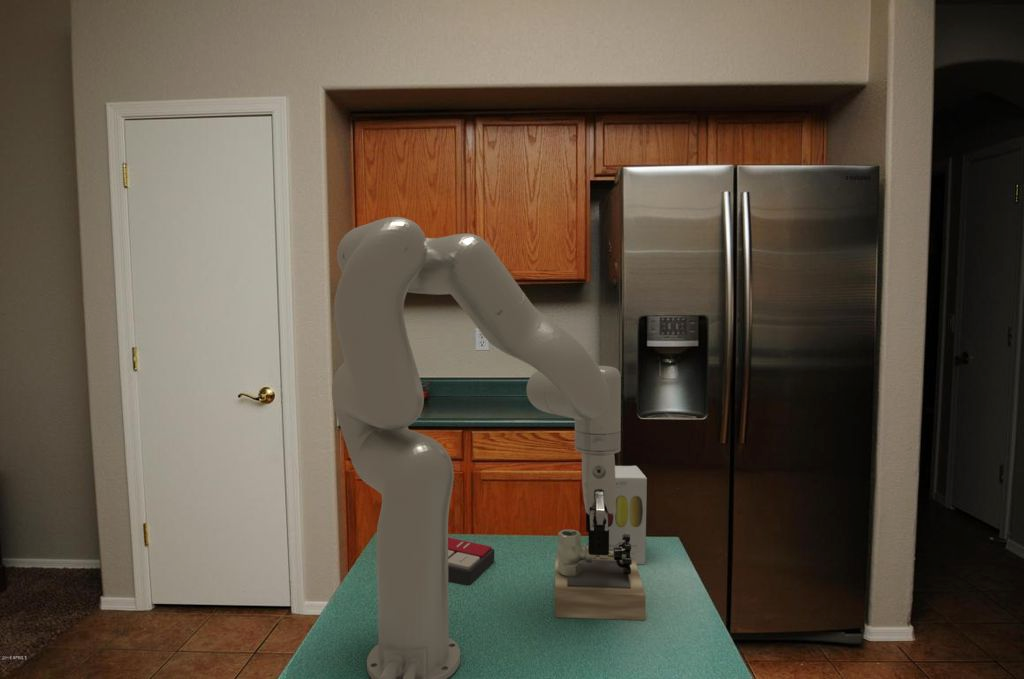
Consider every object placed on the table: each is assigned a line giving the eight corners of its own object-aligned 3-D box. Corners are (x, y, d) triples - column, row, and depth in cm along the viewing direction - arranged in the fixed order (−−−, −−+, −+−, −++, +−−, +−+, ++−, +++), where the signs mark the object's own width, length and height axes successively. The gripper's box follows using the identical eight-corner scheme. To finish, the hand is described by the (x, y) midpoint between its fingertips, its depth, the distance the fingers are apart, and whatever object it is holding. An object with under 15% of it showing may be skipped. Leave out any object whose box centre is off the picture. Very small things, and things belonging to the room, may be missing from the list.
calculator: (470, 567, 107) (396, 550, 112) (469, 591, 107) (396, 573, 113) (495, 545, 117) (427, 530, 123) (494, 566, 117) (426, 551, 123)
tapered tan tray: (645, 620, 95) (645, 593, 95) (554, 617, 96) (554, 590, 96) (634, 580, 109) (634, 556, 109) (555, 577, 110) (555, 554, 110)
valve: (556, 579, 99) (631, 582, 98) (556, 540, 99) (631, 542, 98) (557, 563, 106) (627, 565, 105) (557, 525, 106) (627, 527, 105)
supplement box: (596, 565, 115) (596, 477, 114) (589, 546, 125) (589, 464, 124) (647, 565, 115) (648, 476, 115) (636, 546, 125) (637, 464, 124)
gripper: (625, 453, 92) (625, 565, 93) (615, 430, 109) (615, 525, 110) (575, 452, 93) (575, 563, 94) (573, 430, 110) (573, 524, 111)
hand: (596, 542), depth 102 cm, fingers open, 9 cm apart
